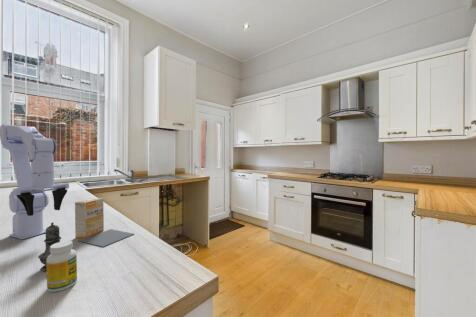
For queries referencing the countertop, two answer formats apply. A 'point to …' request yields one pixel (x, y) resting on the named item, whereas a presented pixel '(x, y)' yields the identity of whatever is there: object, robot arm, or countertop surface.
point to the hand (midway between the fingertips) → (44, 212)
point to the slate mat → (106, 238)
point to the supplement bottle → (61, 266)
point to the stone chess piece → (49, 243)
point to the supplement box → (89, 217)
